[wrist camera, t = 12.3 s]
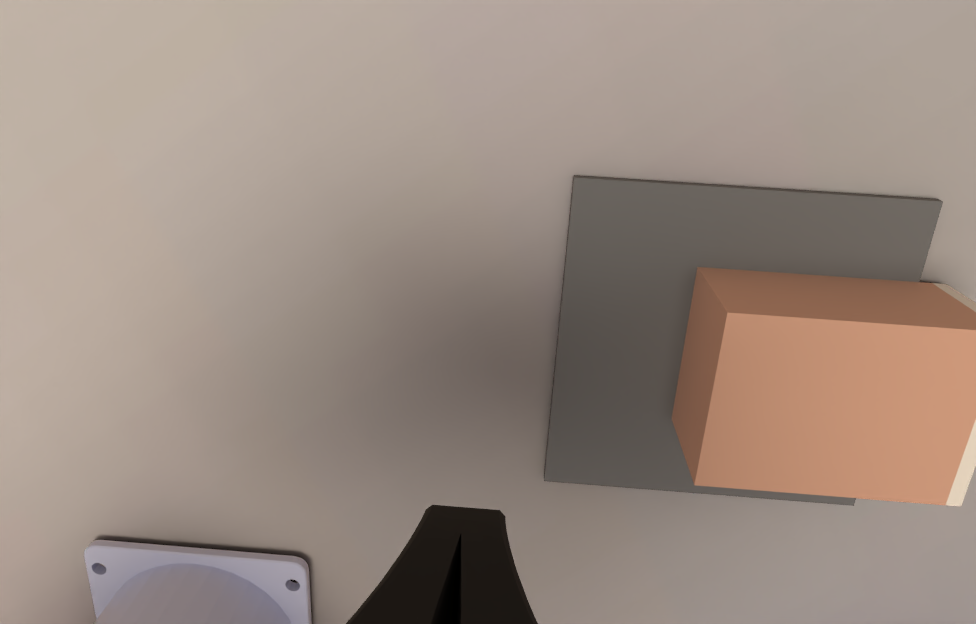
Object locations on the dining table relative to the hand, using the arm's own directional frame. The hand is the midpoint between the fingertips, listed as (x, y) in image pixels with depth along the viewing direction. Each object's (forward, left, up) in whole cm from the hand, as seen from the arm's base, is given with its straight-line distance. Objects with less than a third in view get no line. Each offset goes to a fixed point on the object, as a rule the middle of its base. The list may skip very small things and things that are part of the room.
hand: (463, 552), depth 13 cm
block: (0, -6, -8) cm, 10 cm away
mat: (0, -7, -10) cm, 12 cm away
